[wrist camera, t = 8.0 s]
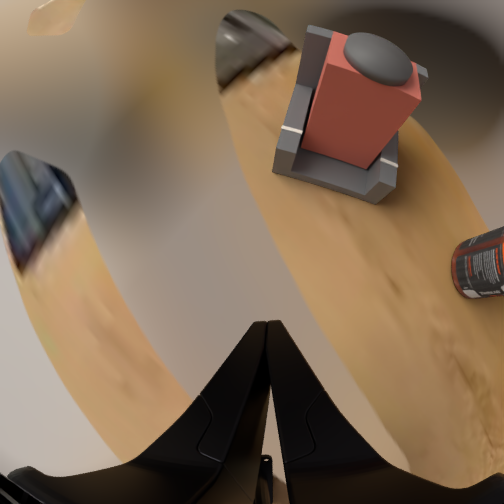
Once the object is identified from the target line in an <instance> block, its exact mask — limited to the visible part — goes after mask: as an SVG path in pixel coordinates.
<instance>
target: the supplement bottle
mask: <svg viewBox="0 0 504 504" xmlns="http://www.w3.org/2000/svg"><path fill="white" fill-rule="evenodd" d="M451 268H452V277H453V281H454V284H455V286H456V288H457V290H458V291H459V292H460V293H461V294H462V295H463V296H464V297H466V298H487V297H495V296H504V226H503V227H501V228H498V229H495V230H493V231H490V232H487V233H485V234H482V235H479V236H476V237H473V238H471V239H468V240H466V241H464V242H462V243H460V244H459V245H458V246H457V248H456V249H455V251H454V254H453V258H452V265H451Z"/></svg>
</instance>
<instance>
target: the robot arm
mask: <svg viewBox="0 0 504 504" xmlns="http://www.w3.org/2000/svg"><path fill="white" fill-rule="evenodd" d="M270 388H271V389H272V395H273V402H274V408H275V414H276V421H277V427H278V434H279V440H280V446H281V453H282V459H283V464H284V472H285V478H286V484H287V491H288V497H289V503H290V504H504V474H502V473H496V474H493V475H492V476H490V477H488V478H486V479H484V480H483V481H481V482H479V483H477V484H475V485H473V486H471V487H468V488H462V489H454V488H448V487H445V486H442V485H439V484H436V483H434V482H431V481H428V480H426V479H423V478H421V477H418V476H416V475H413V474H411V473H409V472H406V471H404V470H402V469H399V468H397V467H395V466H393V465H392V464H390V463H388V462H387V461H386V460H385V459H384V458H382V457H381V456H380V455H379V454H378V453H377V452H376V451H375V450H374V449H373V448H372V447H371V446H370V445H369V443H367V442H366V440H365V439H364V438H363V437H362V436H361V435H360V434H359V433H358V432H357V431H356V429H355V428H354V427H353V426H352V425H351V424H350V423H349V422H348V420H347V419H346V418H345V417H344V416H343V414H342V413H341V412H340V411H339V409H338V408H337V406H335V404H334V402H333V401H332V399H331V398H330V397H329V395H328V393H327V392H326V391H325V389H324V387H323V386H322V384H321V383H320V381H319V380H318V378H317V376H316V375H315V373H314V372H313V370H312V369H311V367H310V366H309V364H308V362H307V361H306V359H305V358H304V356H303V355H302V353H301V351H300V350H299V348H298V347H297V345H296V344H295V342H294V340H293V339H292V337H291V336H290V334H289V333H288V331H287V329H286V328H285V326H284V325H283V323H282V322H281V321H280V320H271V321H268V322H266V321H257V322H254V323H253V324H252V325H251V326H250V328H249V329H248V330H247V332H246V333H245V335H244V336H243V337H242V339H241V340H240V341H239V343H238V344H237V345H236V347H235V348H234V349H233V351H232V352H231V353H230V355H229V356H228V358H227V359H226V360H225V361H224V363H223V364H222V365H221V367H220V368H219V369H218V371H217V372H216V373H215V375H214V376H213V377H212V379H211V380H210V381H209V382H208V384H207V385H206V386H205V387H204V389H203V390H202V391H201V393H200V395H198V396H197V397H196V399H195V400H194V401H193V402H192V404H191V405H190V406H189V407H188V408H187V410H186V411H185V412H184V413H183V414H182V415H181V416H180V417H179V418H178V419H177V420H176V421H175V422H174V423H173V424H172V426H171V427H170V428H168V429H167V430H166V431H165V432H164V433H163V434H162V435H161V436H160V437H159V438H158V439H157V440H156V441H154V442H153V443H152V444H151V445H150V446H149V447H148V448H147V449H146V450H145V451H143V452H142V453H141V454H140V455H139V456H137V457H136V458H134V459H133V460H131V461H129V462H127V463H124V464H121V465H118V466H114V467H110V468H107V469H102V470H98V471H94V472H88V473H83V474H78V475H73V476H66V477H53V476H48V475H45V474H43V473H42V472H40V471H38V470H36V469H35V468H33V467H31V466H27V467H23V468H19V469H16V470H14V471H12V472H11V473H9V474H8V476H7V477H8V478H7V477H5V476H4V475H3V474H1V473H0V504H272V503H273V472H272V457H271V456H269V455H261V454H262V446H263V440H264V433H265V426H266V418H267V412H268V405H269V396H270ZM265 459H268V461H264V460H265Z"/></svg>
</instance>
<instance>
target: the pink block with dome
mask: <svg viewBox="0 0 504 504" xmlns="http://www.w3.org/2000/svg"><path fill="white" fill-rule="evenodd" d="M420 102H421V93H420V86H419V79H418V72H417V67H416V64H415V63H413V62H411V61H410V60H409V58H408V57H407V55H406V54H405V53H404V52H403V51H402V50H401V49H400V48H398V47H397V46H396V45H394V44H393V43H391V42H389V41H388V40H386V39H384V38H381V37H379V36H376V35H373V34H369V33H354V34H351V35H349V36H347V35H344V34H341V33H337V32H334V31H333V35H332V38H331V42H330V45H329V49H328V52H327V55H326V59H325V62H324V66H323V69H322V72H321V76H320V79H319V83H318V86H317V89H316V93H315V96H314V99H313V103H312V106H311V109H310V113H309V116H308V120H307V124H306V128H305V132H304V136H303V140H302V144H301V148H303V149H306V150H310V151H313V152H316V153H319V154H323V155H326V156H329V157H332V158H335V159H338V160H341V161H344V162H347V163H350V164H353V165H356V166H358V167H361V168H364V169H367V168H368V166H369V165H370V164H371V163H372V161H373V160H374V159H375V158H376V157H377V155H378V154H379V153H380V152H381V151H382V149H383V148H384V147H385V146H386V144H387V143H388V142H389V141H390V139H391V138H392V137H393V136H394V134H395V133H396V132H397V131H398V129H399V128H400V127H401V126H402V124H403V123H404V122H405V121H406V119H407V118H408V117H409V116H410V114H411V113H412V112H413V111H414V109H415V108H416V107H417V105H418V104H419V103H420Z"/></svg>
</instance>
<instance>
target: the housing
mask: <svg viewBox="0 0 504 504" xmlns="http://www.w3.org/2000/svg"><path fill="white" fill-rule="evenodd" d="M332 35H333V31H331V30H327V29H323V28H319V27H316V26H312V25H308V28H307V31H306V36H305V41H304V46H303V50H302V55H301V60H300V65H299V70H298V75H297V80H296V85H295V88H294V91H293V94H292V98H291V101H290V104H289V107H288V111H287V114H286V117H285V120H284V124H283V125H282V128H281V129H282V130H281V134H280V137H279V140H278V143H277V147H276V151H275V157H274V163H273V169H272V172H274V173H278V174H282V175H285V176H289V177H292V178H296V179H299V180H302V181H306V182H309V183H312V184H316V185H319V186H322V187H325V188H328V189H332V190H335V191H338V192H341V193H344V194H347V195H350V196H353V197H356V198H359V199H361V200H364V201H367V202H370V203H373V204H375V205H376V204H377V203H378V202H379V201H380V200H382V199H383V198H384V197H385V196H386V195H388V194H389V193H390V192H391V191H392V190H394V189H395V188H396V177H397V168H398V164H397V160H398V131H397V132H396V133H395V134H394V136H393V137H392V138H391V139H390V141H389V142H388V143H387V144H386V146H385V147H384V148H383V149H382V151H381V152H380V153H379V154H378V155H377V157H376V158H375V159H374V160H373V161H372V163H371V164H370V165H369V166H368V168H367V169H364V168H361V167H358V166H356V165H353V164H350V163H347V162H344V161H341V160H338V159H335V158H332V157H329V156H326V155H323V154H319V153H316V152H313V151H310V150H306V149H303V148H301V144H302V140H303V136H304V132H305V128H306V124H307V120H308V116H309V113H310V109H311V106H312V103H313V99H314V96H315V93H316V89H317V86H318V83H319V79H320V76H321V72H322V69H323V66H324V62H325V59H326V55H327V52H328V49H329V45H330V42H331V38H332ZM416 67H417V72H418V79H419V86H420V89H421V87H422V86H423V85H424V83H425V82H426V81H427V79H428V74H427V70H426V69H425V68H423V67H421V66H419V65H417V64H416Z"/></svg>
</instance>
